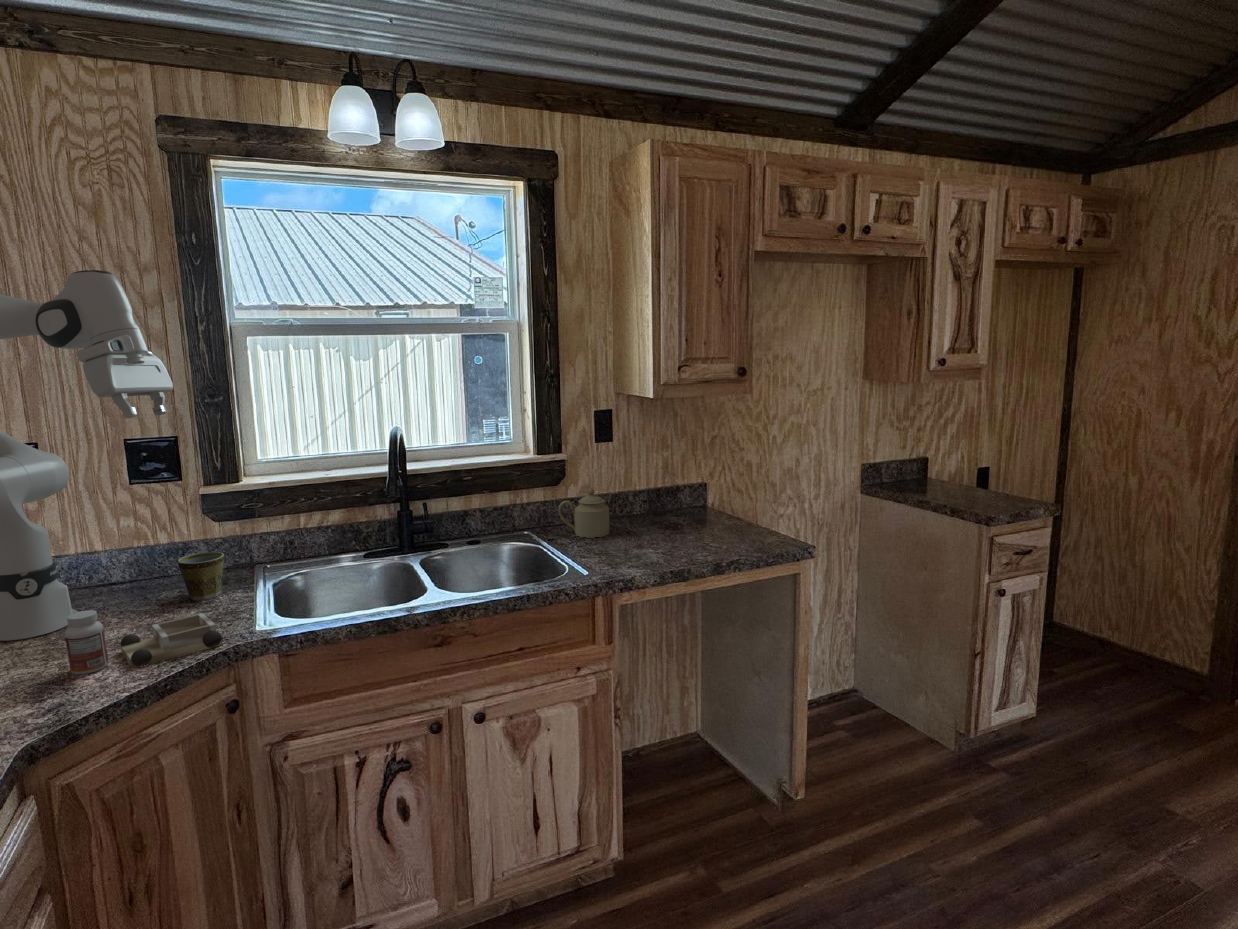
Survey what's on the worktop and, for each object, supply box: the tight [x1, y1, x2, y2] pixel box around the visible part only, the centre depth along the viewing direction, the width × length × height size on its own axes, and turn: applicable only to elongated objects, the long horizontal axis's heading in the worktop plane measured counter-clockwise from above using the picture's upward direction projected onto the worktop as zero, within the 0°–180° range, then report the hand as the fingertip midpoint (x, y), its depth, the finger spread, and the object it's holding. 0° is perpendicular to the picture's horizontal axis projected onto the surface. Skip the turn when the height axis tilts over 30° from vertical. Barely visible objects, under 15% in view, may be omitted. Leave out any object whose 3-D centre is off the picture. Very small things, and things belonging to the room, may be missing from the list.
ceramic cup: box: [177, 551, 225, 601], centre depth 187 cm, size 13×10×10 cm
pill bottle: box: [64, 609, 109, 675], centre depth 145 cm, size 6×6×11 cm
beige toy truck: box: [120, 612, 223, 669], centre depth 155 cm, size 11×16×4 cm
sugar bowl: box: [558, 487, 610, 539], centre depth 236 cm, size 15×11×15 cm
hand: (146, 416), depth 151 cm, fingers open, 8 cm apart
